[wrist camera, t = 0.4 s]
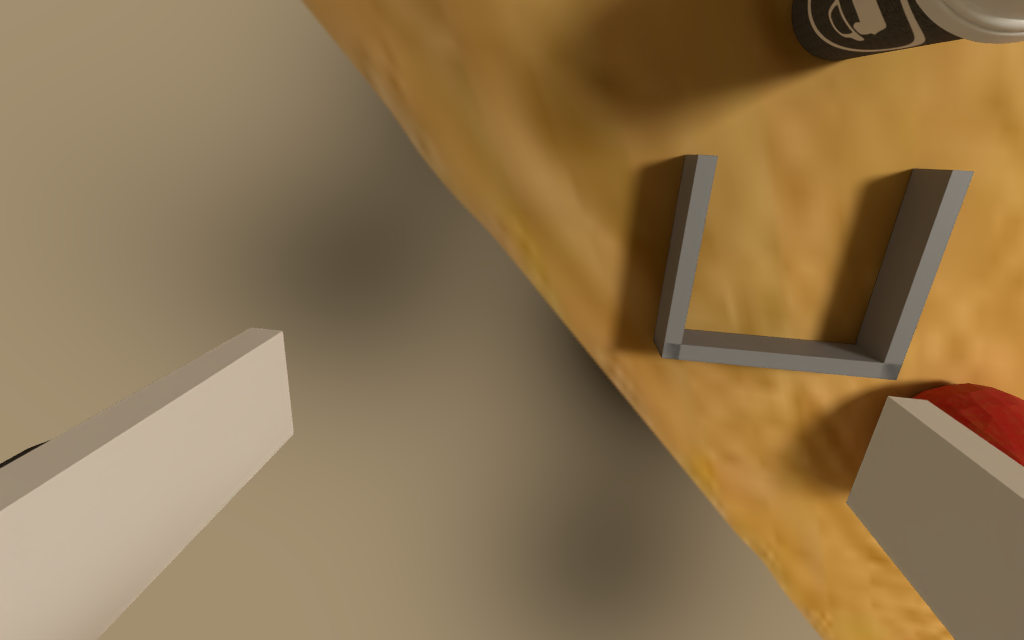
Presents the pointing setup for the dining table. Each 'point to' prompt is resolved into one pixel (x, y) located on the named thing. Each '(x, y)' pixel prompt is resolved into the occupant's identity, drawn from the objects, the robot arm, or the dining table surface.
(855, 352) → the bay
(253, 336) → the robot arm
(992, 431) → the apple
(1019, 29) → the coffee cup
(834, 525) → the dining table surface
